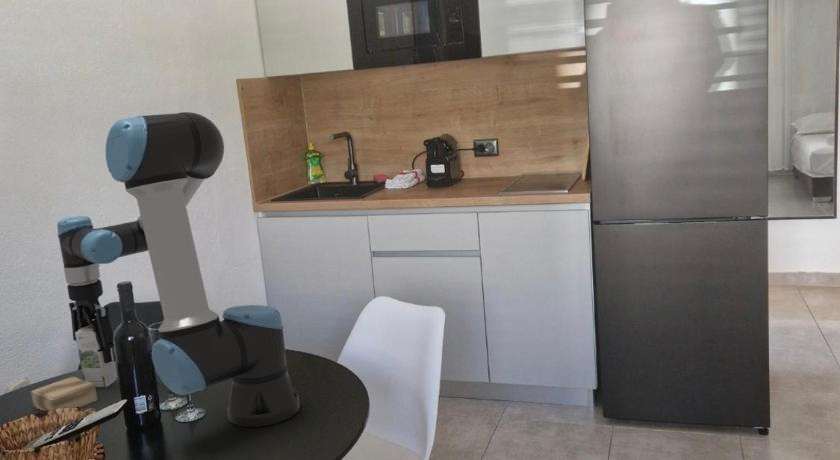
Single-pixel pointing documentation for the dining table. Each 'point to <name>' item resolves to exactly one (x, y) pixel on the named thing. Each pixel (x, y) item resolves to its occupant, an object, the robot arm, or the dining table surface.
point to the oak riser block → (64, 394)
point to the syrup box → (92, 358)
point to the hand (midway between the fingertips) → (99, 371)
